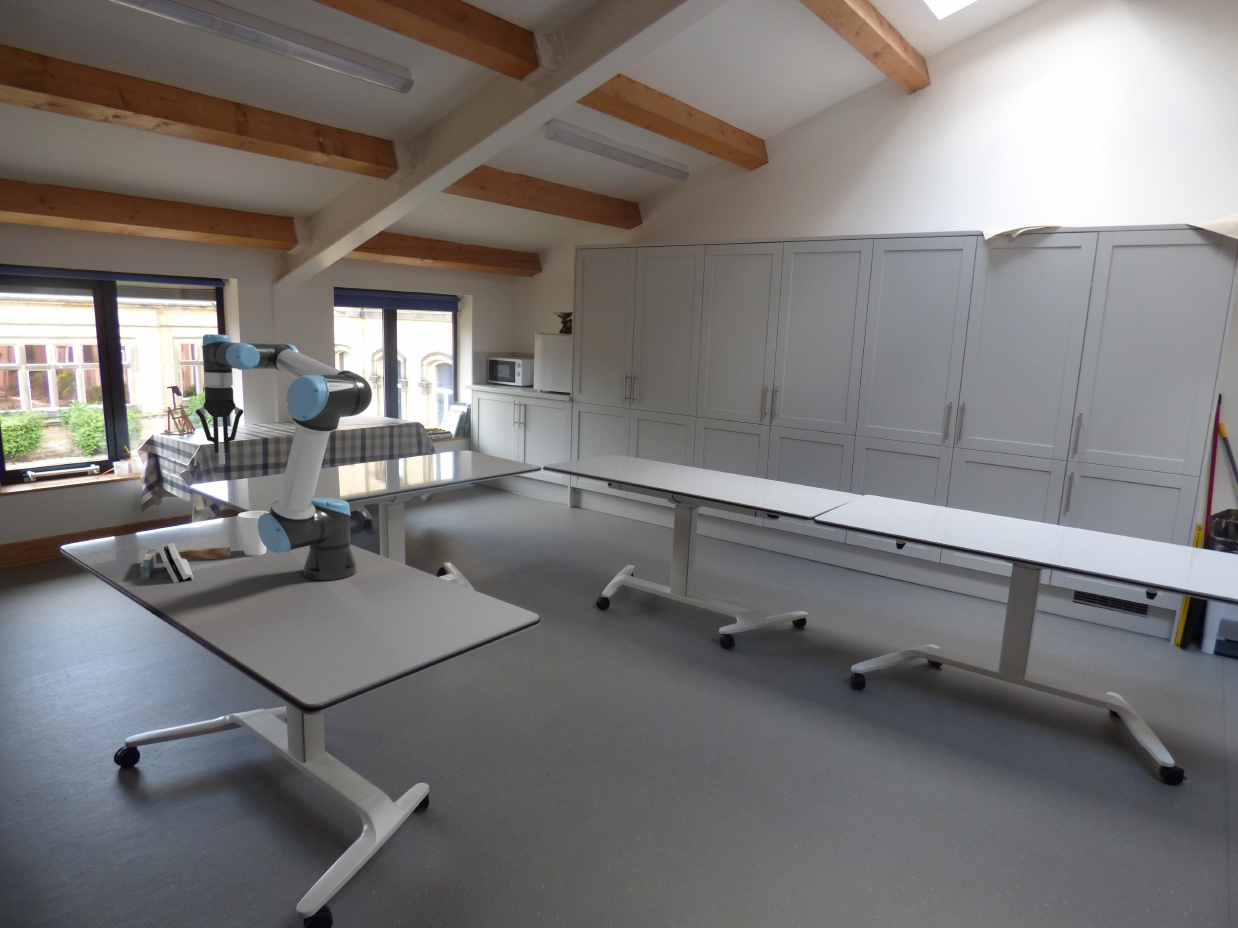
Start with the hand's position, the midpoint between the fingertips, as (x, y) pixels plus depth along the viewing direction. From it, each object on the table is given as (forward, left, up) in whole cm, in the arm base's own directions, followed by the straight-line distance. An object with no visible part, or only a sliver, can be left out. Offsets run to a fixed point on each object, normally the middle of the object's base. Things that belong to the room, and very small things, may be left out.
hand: (222, 463), depth 219 cm
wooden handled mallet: (+10, +3, -31) cm, 33 cm away
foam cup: (-8, -7, -31) cm, 33 cm away
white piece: (+13, +9, -32) cm, 35 cm away
